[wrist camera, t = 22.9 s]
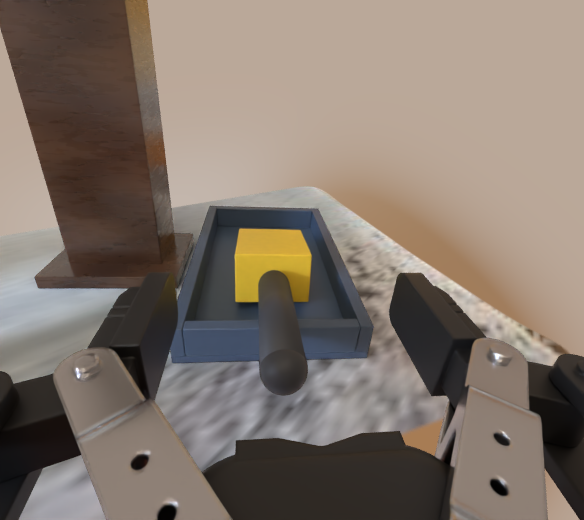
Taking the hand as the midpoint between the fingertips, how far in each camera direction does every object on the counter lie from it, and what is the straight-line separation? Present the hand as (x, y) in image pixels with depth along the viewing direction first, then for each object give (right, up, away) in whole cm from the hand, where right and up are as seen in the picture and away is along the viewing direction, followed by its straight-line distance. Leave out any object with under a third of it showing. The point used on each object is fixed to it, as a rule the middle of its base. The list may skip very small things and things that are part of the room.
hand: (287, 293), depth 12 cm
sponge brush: (-1, -2, +9) cm, 9 cm away
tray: (-2, 0, +16) cm, 17 cm away
